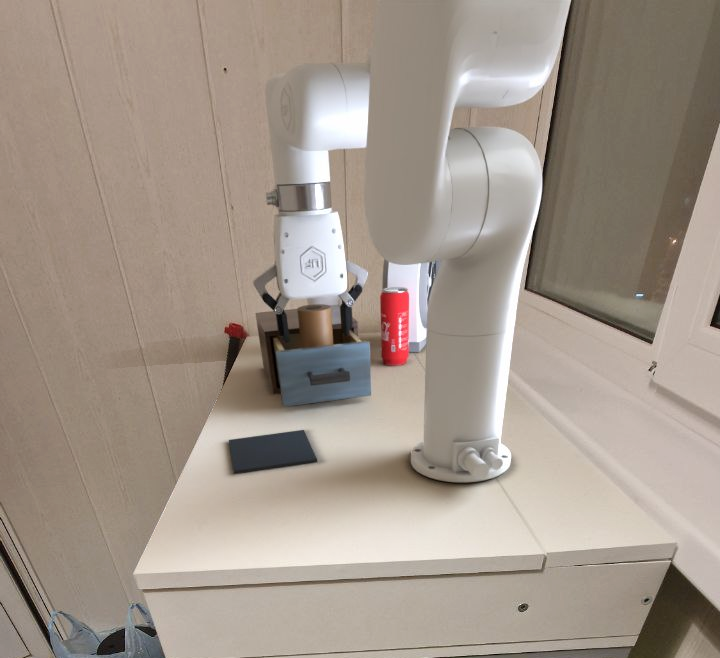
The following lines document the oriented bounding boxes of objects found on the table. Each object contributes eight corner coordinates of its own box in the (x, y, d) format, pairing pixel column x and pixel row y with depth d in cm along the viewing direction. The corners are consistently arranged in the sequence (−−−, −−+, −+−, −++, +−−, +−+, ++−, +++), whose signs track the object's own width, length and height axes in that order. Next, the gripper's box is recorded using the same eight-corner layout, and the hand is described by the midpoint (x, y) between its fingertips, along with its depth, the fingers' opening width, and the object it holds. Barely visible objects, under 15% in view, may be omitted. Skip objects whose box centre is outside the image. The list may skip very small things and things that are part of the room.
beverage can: (406, 366, 104) (407, 292, 96) (379, 366, 105) (377, 292, 97) (410, 358, 108) (411, 286, 100) (384, 358, 109) (382, 287, 101)
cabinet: (360, 382, 98) (357, 321, 92) (273, 393, 96) (264, 331, 89) (342, 360, 109) (338, 304, 103) (263, 369, 107) (255, 312, 101)
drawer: (378, 403, 87) (376, 349, 81) (287, 415, 85) (279, 360, 79) (351, 371, 100) (349, 322, 95) (272, 380, 98) (265, 331, 93)
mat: (317, 461, 73) (317, 458, 73) (234, 473, 72) (233, 470, 71) (304, 432, 81) (303, 429, 81) (229, 442, 80) (228, 439, 80)
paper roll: (339, 385, 91) (333, 308, 84) (307, 389, 90) (299, 312, 83) (332, 376, 95) (327, 302, 87) (302, 380, 94) (294, 305, 87)
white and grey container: (422, 357, 108) (426, 229, 95) (381, 355, 110) (378, 230, 97) (441, 334, 121) (446, 218, 108) (403, 333, 123) (404, 220, 110)
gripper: (243, 206, 73) (264, 349, 84) (371, 197, 75) (374, 337, 86) (239, 203, 78) (259, 338, 89) (358, 195, 81) (363, 326, 92)
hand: (316, 337), depth 88 cm, fingers open, 9 cm apart
